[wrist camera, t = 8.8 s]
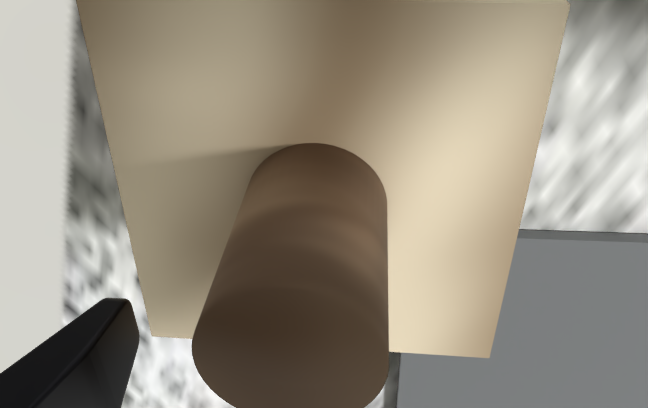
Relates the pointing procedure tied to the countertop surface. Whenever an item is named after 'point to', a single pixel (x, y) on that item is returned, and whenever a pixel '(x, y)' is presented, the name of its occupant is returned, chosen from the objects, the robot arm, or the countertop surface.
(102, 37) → the lid
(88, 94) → the countertop surface
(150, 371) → the countertop surface
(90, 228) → the countertop surface
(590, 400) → the mat
